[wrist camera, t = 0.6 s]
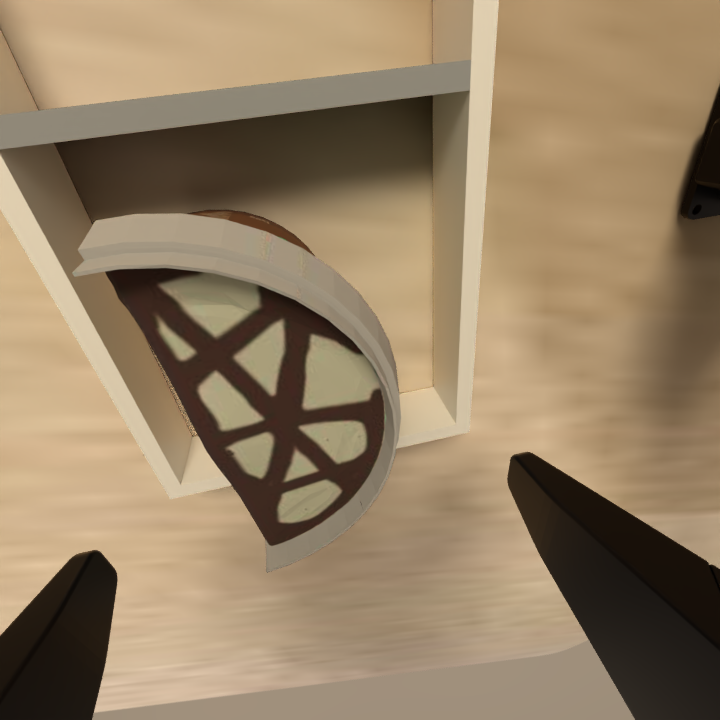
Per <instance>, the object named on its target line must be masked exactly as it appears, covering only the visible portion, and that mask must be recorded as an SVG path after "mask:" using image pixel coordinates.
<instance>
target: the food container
mask: <svg viewBox="0 0 720 720" xmlns="http://www.w3.org/2000/svg"><path fill="white" fill-rule="evenodd" d="M78 251H79V253H80V254H81V256H82V257H83V259H84V261H83V262H82V263H81V264H80V265H79V266H78V267H77V268H76V269H75V270H74V271H73V272H72V274H73V275H74V277H76V276H82V275H88V274H94V273H100V272H105V273H106V275H107V277H108V279H109V280H110V282H111V283H112V285H113V287H114V289H115V292H116V294H117V296H118V299H119V300H120V301H121V302H122V304H123V305H124V306H125V307H126V308H127V309H128V311H129V312H130V314H131V315H132V317H133V318H134V320H135V321H136V323H137V324H138V326H139V327H140V329H141V330H142V332H143V334H144V336H145V337H146V339H147V341H148V342H149V344H150V346H151V348H152V349H153V351H154V353H155V355H156V356H157V358H158V360H159V361H160V363H161V365H162V367H163V368H164V370H165V372H166V374H167V376H168V378H169V380H170V381H171V383H172V385H173V387H174V389H175V391H176V393H177V395H178V396H179V398H180V400H181V402H182V404H183V406H184V408H185V410H186V412H187V415H188V417H189V419H190V421H191V423H192V425H193V427H194V429H195V430H196V432H197V434H198V436H199V438H200V440H201V442H202V444H203V446H204V448H205V450H206V451H207V453H208V454H209V456H210V457H211V459H212V460H213V461H214V463H215V464H216V466H217V467H218V468H219V470H220V471H221V472H222V473H223V475H224V476H225V477H226V478H227V480H228V481H229V482H230V484H231V485H232V486H233V488H234V489H235V491H236V492H237V493H238V495H239V496H240V498H241V499H242V501H243V502H244V504H245V506H246V507H247V509H248V511H249V512H250V514H251V516H252V517H253V519H254V521H255V522H256V524H257V526H258V527H259V529H260V531H261V532H262V534H263V536H264V537H265V542H266V572H267V573H268V572H270V571H273V570H276V569H279V568H282V567H285V566H287V565H290V564H292V563H294V562H296V561H299V560H301V559H303V558H305V557H307V556H309V555H311V554H313V553H315V552H316V551H318V550H320V549H321V548H323V547H325V546H326V545H328V544H330V543H331V542H333V541H334V540H335V539H336V538H338V537H339V536H340V535H342V534H343V533H344V532H346V531H347V530H348V529H349V528H351V527H352V526H353V525H354V524H355V523H356V522H357V521H358V520H359V519H360V518H361V517H362V516H363V515H364V514H365V513H366V511H367V510H368V509H369V507H370V506H371V505H372V503H373V502H374V501H375V499H376V498H377V497H378V495H379V494H380V492H381V490H382V488H383V486H384V484H385V482H386V480H387V478H388V476H389V474H390V470H391V467H392V464H393V461H394V458H395V453H396V446H397V443H398V439H399V431H400V423H401V410H400V398H399V388H398V379H397V370H396V363H395V360H394V356H393V353H392V350H391V346H390V343H389V340H388V338H387V336H386V334H385V332H384V330H383V328H382V326H381V324H380V322H379V320H378V318H377V316H376V315H375V313H374V312H373V311H372V309H371V308H370V307H369V305H368V304H367V303H366V302H365V300H364V299H363V298H362V296H361V295H360V294H359V292H358V291H357V290H356V289H355V288H353V287H352V286H351V285H350V284H349V283H348V282H347V281H346V280H345V279H344V278H343V277H342V276H341V275H340V274H338V273H337V272H336V271H335V270H334V269H333V268H331V267H330V266H328V265H327V264H325V263H324V262H322V261H321V260H319V259H318V258H316V257H315V256H314V254H313V253H312V252H311V251H310V249H309V248H308V247H307V246H306V245H305V244H304V243H303V242H302V241H301V240H300V239H299V238H297V237H296V236H295V235H294V234H292V233H291V232H289V231H288V230H286V229H285V228H283V227H282V226H280V225H278V224H276V223H274V222H272V221H270V220H268V219H265V218H263V217H260V216H256V215H253V214H250V213H246V212H240V211H232V210H205V211H199V212H193V213H188V214H182V213H172V214H132V215H126V216H120V217H114V218H108V219H102V220H96V221H95V222H94V224H93V226H92V227H91V229H90V231H89V232H88V234H87V236H86V237H85V239H84V240H83V242H82V244H81V245H80V247H79V249H78Z"/></svg>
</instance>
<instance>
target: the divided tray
mask: <svg viewBox="0 0 720 720" xmlns="http://www.w3.org/2000/svg"><path fill="white" fill-rule="evenodd" d="M498 6H499V0H433V64H431V65H422V66H413V67H405V68H396V69H388V70H379V71H371V72H362V73H354V74H345V75H337V76H328V77H320V78H311V79H302V80H294V81H285V82H277V83H268V84H260V85H251V86H243V87H234V88H226V89H217V90H209V91H200V92H192V93H183V94H174V95H166V96H157V97H149V98H140V99H132V100H123V101H115V102H106V103H98V104H89V105H81V106H72V107H64V108H55V109H46V110H38V108H37V106H36V104H35V102H34V100H33V98H32V95H31V93H30V91H29V89H28V87H27V85H26V83H25V81H24V78H23V76H22V74H21V72H20V70H19V68H18V66H17V64H16V61H15V59H14V57H13V55H12V53H11V51H10V49H9V47H8V44H7V42H6V40H5V38H4V36H3V34H2V32H1V30H0V209H1V211H2V213H3V215H4V216H5V218H6V220H7V221H8V223H9V225H10V227H11V228H12V230H13V232H14V233H15V235H16V237H17V238H18V240H19V242H20V244H21V245H22V247H23V249H24V250H25V252H26V254H27V256H28V257H29V259H30V261H31V262H32V264H33V266H34V268H35V269H36V271H37V273H38V274H39V276H40V278H41V279H42V281H43V283H44V285H45V286H46V288H47V290H48V291H49V293H50V295H51V297H52V298H53V300H54V302H55V303H56V305H57V307H58V309H59V310H60V312H61V314H62V315H63V317H64V319H65V321H66V322H67V324H68V326H69V327H70V329H71V331H72V332H73V334H74V336H75V338H76V339H77V341H78V343H79V344H80V346H81V348H82V350H83V351H84V353H85V355H86V356H87V358H88V360H89V362H90V363H91V365H92V367H93V368H94V370H95V372H96V373H97V375H98V377H99V379H100V380H101V382H102V384H103V385H104V387H105V389H106V391H107V392H108V394H109V396H110V397H111V399H112V401H113V403H114V404H115V406H116V408H117V409H118V411H119V413H120V414H121V416H122V418H123V420H124V421H125V423H126V425H127V426H128V428H129V430H130V432H131V433H132V435H133V437H134V438H135V440H136V442H137V444H138V445H139V447H140V449H141V450H142V452H143V454H144V456H145V457H146V459H147V461H148V462H149V464H150V466H151V467H152V469H153V471H154V473H155V474H156V476H157V478H158V479H159V481H160V483H161V485H162V486H163V488H164V490H165V491H166V493H167V495H168V497H169V498H170V499H174V498H178V497H183V496H187V495H192V494H196V493H201V492H205V491H210V490H214V489H219V488H223V487H228V486H232V485H231V484H230V482H229V481H228V480H227V478H226V477H225V476H224V475H223V473H222V472H221V471H220V470H219V468H218V467H217V466H216V464H215V463H214V461H213V460H212V459H211V457H210V456H209V454H208V453H207V451H206V450H205V448H204V446H203V444H202V442H201V440H200V438H199V436H195V437H192V435H191V433H190V431H189V429H188V427H187V425H186V422H185V420H184V418H183V416H182V414H181V412H180V410H179V408H178V405H177V403H176V401H175V399H174V397H173V395H172V393H171V391H170V388H169V386H168V384H167V382H166V380H165V378H164V376H163V374H162V371H161V369H160V367H159V365H158V363H157V361H156V359H155V357H154V354H153V352H152V350H151V348H150V346H149V344H148V342H147V340H146V337H145V336H144V334H143V332H142V330H141V329H140V327H139V326H138V324H137V323H136V321H135V320H134V318H133V317H132V315H131V314H130V312H129V311H128V309H127V308H126V307H125V306H124V305H123V304H122V302H121V301H120V300H119V299H118V296H117V294H116V292H115V289H114V287H113V285H112V283H111V282H110V280H109V279H108V277H107V275H106V273H105V272H100V273H94V274H88V275H82V276H76V277H74V275H73V274H72V272H73V271H74V270H75V269H76V268H77V267H78V266H79V265H80V264H81V263H82V262H83V261H84V259H83V257H82V256H81V254H80V253H79V251H78V249H79V247H80V245H81V244H82V242H83V240H84V239H85V237H86V236H87V234H88V232H89V231H90V229H91V227H92V226H93V225H92V223H91V221H90V219H89V216H88V214H87V212H86V210H85V208H84V206H83V204H82V202H81V199H80V197H79V195H78V193H77V191H76V189H75V187H74V185H73V182H72V180H71V178H70V176H69V174H68V172H67V170H66V168H65V165H64V163H63V161H62V159H61V157H60V155H59V153H58V151H57V149H56V146H55V144H54V143H56V142H64V141H71V140H79V139H87V138H95V137H103V136H111V135H119V134H127V133H135V132H143V131H151V130H159V129H167V128H175V127H183V126H191V125H199V124H206V123H214V122H222V121H230V120H238V119H246V118H254V117H262V116H270V115H278V114H286V113H294V112H302V111H310V110H318V109H326V108H334V107H342V106H349V105H357V104H365V103H373V102H381V101H389V100H397V99H405V98H413V97H421V96H429V95H433V387H430V388H425V389H420V390H415V391H410V392H406V393H401V394H399V398H400V410H401V423H400V431H399V439H398V443H397V446H396V449H397V448H402V447H406V446H411V445H415V444H420V443H424V442H429V441H433V440H438V439H442V438H446V437H451V436H455V435H460V434H464V433H469V432H470V418H471V403H472V388H473V374H474V359H475V344H476V330H477V315H478V300H479V285H480V271H481V256H482V241H483V226H484V212H485V197H486V182H487V168H488V153H489V138H490V123H491V109H492V94H493V79H494V65H495V50H496V35H497V20H498Z"/></svg>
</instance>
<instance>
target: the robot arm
mask: <svg viewBox="0 0 720 720" xmlns="http://www.w3.org/2000/svg"><path fill="white" fill-rule="evenodd" d="M681 215H682V217H684V218H687V219H693V220H694V219H699V218H705V217H711V216H717V215H720V96H719V99H718V102H717V105H716V108H715V111H714V114H713V117H712V120H711V123H710V126H709V129H708V132H707V135H706V138H705V141H704V144H703V147H702V150H701V153H700V156H699V159H698V162H697V165H696V168H695V171H694V174H693V177H692V180H691V183H690V186H689V189H688V192H687V195H686V198H685V201H684V204H683V207H682V210H681ZM507 480H508V486H509V489H510V491H511V493H512V496H513V498H514V500H515V502H516V504H517V507H518V509H519V511H520V513H521V515H522V518H523V520H524V522H525V524H526V526H527V529H528V531H529V533H530V535H531V538H532V540H533V542H534V544H535V546H536V548H537V550H538V552H539V554H540V556H541V558H542V560H543V561H544V563H545V565H546V567H547V568H548V570H549V572H550V574H551V575H552V577H553V579H554V580H555V582H556V584H557V586H558V587H559V589H560V591H561V593H562V594H563V596H564V598H565V599H566V601H567V603H568V605H569V606H570V608H571V610H572V611H573V613H574V615H575V617H576V618H577V620H578V622H579V624H580V625H581V627H582V629H583V630H584V632H585V634H586V636H587V637H588V639H589V640H590V643H591V644H592V646H593V648H594V649H595V651H596V653H597V655H598V656H599V658H600V659H601V661H602V663H603V665H604V667H605V668H606V670H607V672H608V673H609V675H610V677H611V679H612V680H613V682H614V684H615V685H616V687H617V689H618V691H619V692H620V694H621V696H622V698H623V699H624V701H625V703H626V705H627V706H628V708H629V710H630V711H631V713H632V715H633V717H634V718H635V720H720V569H719V568H717V567H716V566H714V565H709V564H708V562H707V561H706V560H704V559H702V558H701V557H699V556H698V555H696V554H694V553H693V552H691V551H690V550H688V549H686V548H685V547H683V546H682V545H680V544H678V543H677V542H675V541H673V540H672V539H670V538H669V537H667V536H665V535H664V534H662V533H661V532H659V531H657V530H656V529H654V528H652V527H651V526H649V525H648V524H646V523H644V522H643V521H641V520H640V519H638V518H636V517H635V516H633V515H631V514H630V513H628V512H627V511H625V510H623V509H622V508H620V507H619V506H617V505H615V504H614V503H612V502H610V501H609V500H607V499H606V498H604V497H602V496H601V495H599V494H598V493H596V492H594V491H593V490H591V489H589V488H588V487H586V486H585V485H583V484H581V483H580V482H578V481H577V480H575V479H573V478H572V477H570V476H568V475H567V474H565V473H564V472H562V471H560V470H559V469H557V468H556V467H554V466H552V465H551V464H549V463H547V462H546V461H544V460H543V459H541V458H539V457H538V456H536V455H535V454H533V453H530V452H524V453H519V454H515V455H513V456H512V457H511V459H510V465H509V471H508V478H507ZM116 588H117V573H116V570H115V569H114V567H113V566H112V565H111V564H110V563H109V561H108V560H107V559H106V558H105V557H104V555H103V554H102V553H101V552H100V551H98V550H92V551H88V552H83V553H79V554H77V555H75V556H73V557H72V558H71V559H70V560H69V561H68V562H67V563H66V564H65V565H64V566H63V567H62V569H61V570H60V571H59V572H58V573H57V574H56V575H55V576H54V577H53V578H52V579H51V581H50V582H49V583H48V584H47V585H46V586H45V587H44V588H43V589H42V590H41V592H40V593H39V594H38V595H37V596H36V597H35V598H34V599H33V600H32V601H31V603H30V604H29V605H28V606H27V607H26V608H25V609H24V610H23V611H22V612H21V613H20V615H19V616H18V617H17V618H16V619H15V620H14V621H13V622H12V623H11V624H10V626H9V627H8V628H7V629H6V630H5V631H4V632H3V633H2V634H1V635H0V720H92V717H93V713H94V709H95V705H96V701H97V697H98V693H99V689H100V685H101V680H102V676H103V672H104V667H105V663H106V657H107V651H108V644H109V637H110V630H111V623H112V616H113V609H114V602H115V595H116Z"/></svg>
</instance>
